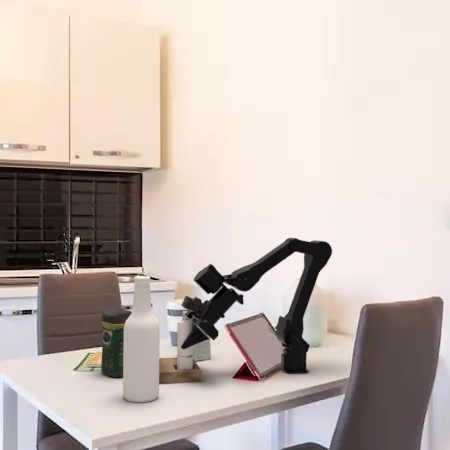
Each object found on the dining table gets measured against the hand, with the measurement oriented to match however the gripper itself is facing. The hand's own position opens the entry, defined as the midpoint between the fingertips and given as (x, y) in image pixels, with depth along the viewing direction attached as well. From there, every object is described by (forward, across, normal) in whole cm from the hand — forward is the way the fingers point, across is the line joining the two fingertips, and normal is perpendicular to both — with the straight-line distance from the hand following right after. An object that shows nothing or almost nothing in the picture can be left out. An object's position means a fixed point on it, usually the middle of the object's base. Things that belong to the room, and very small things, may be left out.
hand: (180, 346), depth 163 cm
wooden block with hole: (+7, -3, +5) cm, 9 cm away
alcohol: (+15, +15, -3) cm, 22 cm away
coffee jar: (+18, -8, -6) cm, 20 cm away
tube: (+5, 0, +7) cm, 8 cm away
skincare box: (0, -22, +13) cm, 25 cm away
